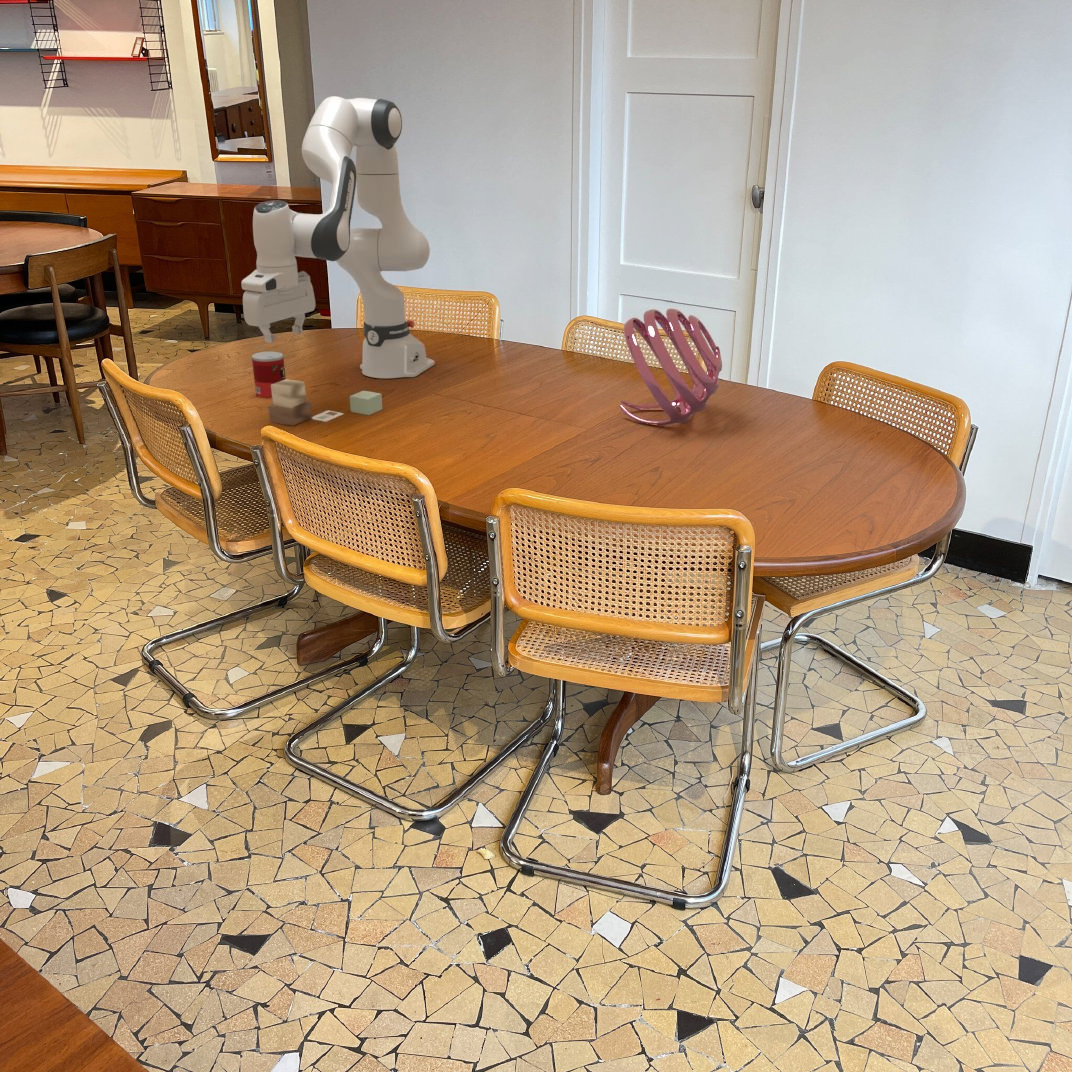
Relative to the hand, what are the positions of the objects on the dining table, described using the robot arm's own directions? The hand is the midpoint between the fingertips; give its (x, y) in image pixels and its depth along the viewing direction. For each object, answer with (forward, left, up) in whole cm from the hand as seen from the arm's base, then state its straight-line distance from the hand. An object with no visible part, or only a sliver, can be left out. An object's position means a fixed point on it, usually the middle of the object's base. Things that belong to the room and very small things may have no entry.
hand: (284, 337), depth 232 cm
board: (-2, 0, -21) cm, 21 cm away
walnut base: (0, 0, -20) cm, 20 cm away
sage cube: (-15, +11, -21) cm, 28 cm away
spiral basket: (-49, +77, -21) cm, 93 cm away
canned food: (-14, -19, -21) cm, 32 cm away
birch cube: (0, 0, -16) cm, 16 cm away
